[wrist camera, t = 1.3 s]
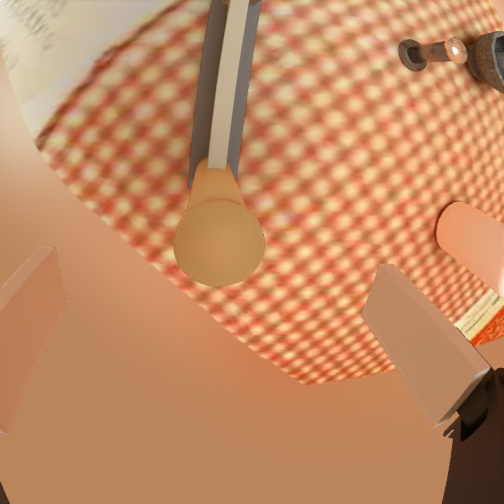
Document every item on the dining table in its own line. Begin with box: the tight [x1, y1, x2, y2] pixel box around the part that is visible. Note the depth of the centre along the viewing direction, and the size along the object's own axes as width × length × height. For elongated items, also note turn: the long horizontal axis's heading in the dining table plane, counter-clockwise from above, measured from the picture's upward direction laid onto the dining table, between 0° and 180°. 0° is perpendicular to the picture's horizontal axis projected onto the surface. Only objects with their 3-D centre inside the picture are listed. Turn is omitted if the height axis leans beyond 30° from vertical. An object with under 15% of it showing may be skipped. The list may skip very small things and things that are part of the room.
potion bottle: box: [436, 201, 504, 297], centre depth 29 cm, size 8×8×18 cm
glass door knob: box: [399, 37, 467, 71], centre depth 22 cm, size 4×4×9 cm
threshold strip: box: [188, 0, 261, 189], centre depth 25 cm, size 24×5×1 cm, turn 173°
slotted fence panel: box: [174, 0, 265, 286], centre depth 18 cm, size 21×4×18 cm, turn 173°
